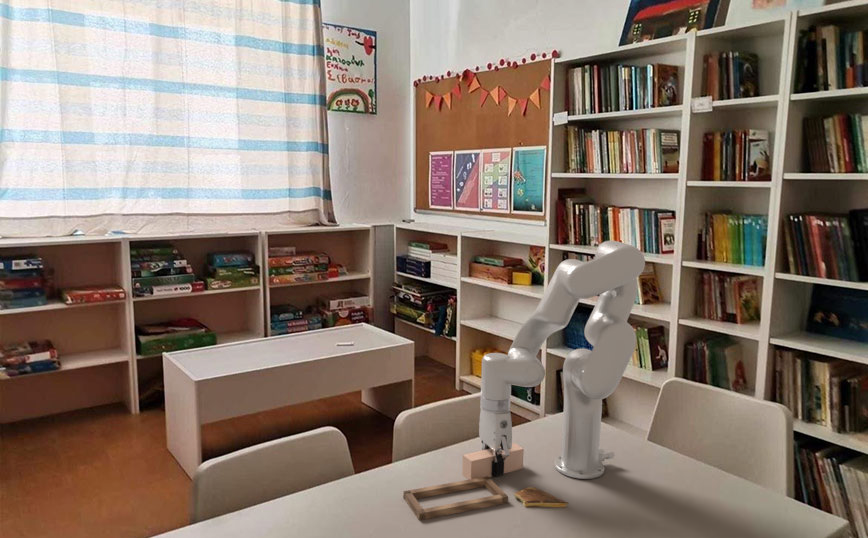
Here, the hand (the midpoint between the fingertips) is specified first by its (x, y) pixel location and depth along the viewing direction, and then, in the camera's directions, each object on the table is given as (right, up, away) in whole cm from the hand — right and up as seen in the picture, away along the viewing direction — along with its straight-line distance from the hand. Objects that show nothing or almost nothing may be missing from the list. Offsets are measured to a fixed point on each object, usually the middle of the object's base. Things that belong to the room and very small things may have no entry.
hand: (492, 470), depth 164 cm
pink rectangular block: (0, -1, 0) cm, 1 cm away
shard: (+10, -3, -13) cm, 17 cm away
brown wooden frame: (-10, -2, -15) cm, 18 cm away
